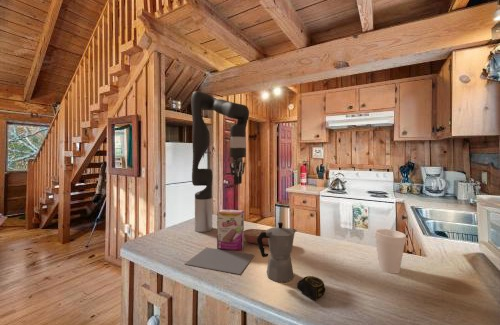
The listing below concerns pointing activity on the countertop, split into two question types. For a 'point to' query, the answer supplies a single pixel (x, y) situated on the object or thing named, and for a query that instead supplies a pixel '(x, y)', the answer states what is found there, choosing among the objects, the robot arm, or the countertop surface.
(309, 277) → the tape measure
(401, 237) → the foam cup
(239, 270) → the mat
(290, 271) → the coffeepot
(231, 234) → the candy bar box
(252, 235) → the anatomical model
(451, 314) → the countertop surface
